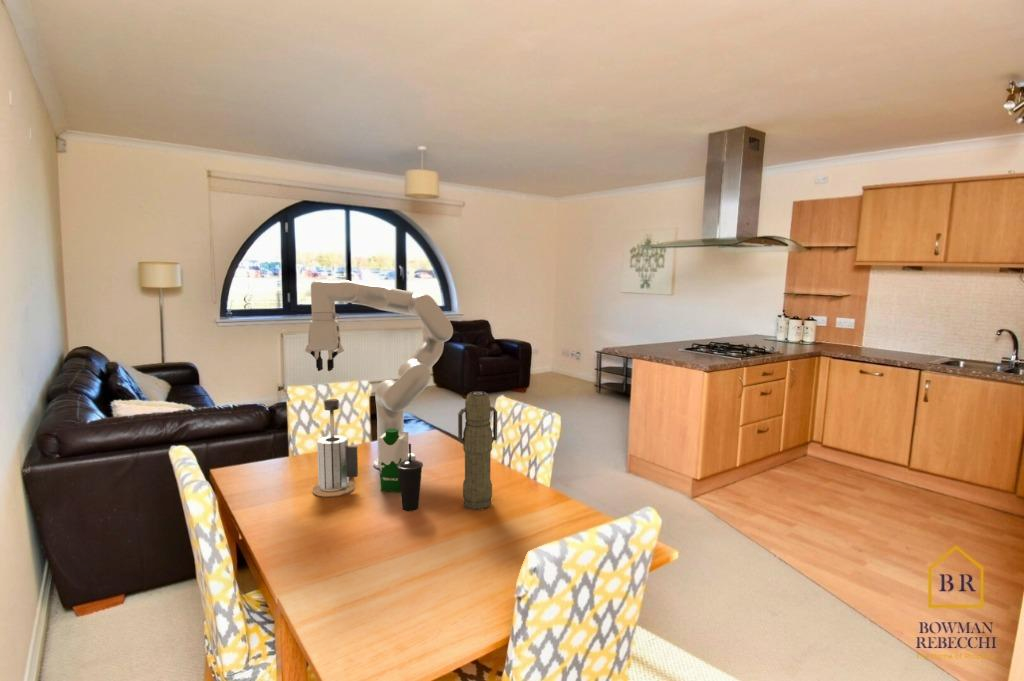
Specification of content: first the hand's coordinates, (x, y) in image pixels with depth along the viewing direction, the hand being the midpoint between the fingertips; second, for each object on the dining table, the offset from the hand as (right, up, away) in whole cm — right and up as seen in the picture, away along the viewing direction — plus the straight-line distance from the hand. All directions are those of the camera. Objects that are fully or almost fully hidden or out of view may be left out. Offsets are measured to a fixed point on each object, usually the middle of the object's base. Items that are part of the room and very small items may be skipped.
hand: (325, 369), depth 183 cm
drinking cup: (+34, -41, -23) cm, 58 cm away
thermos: (+54, -41, -20) cm, 70 cm away
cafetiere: (+6, -39, -9) cm, 40 cm away
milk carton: (+26, -39, -7) cm, 47 cm away
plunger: (+6, -28, -11) cm, 30 cm away
